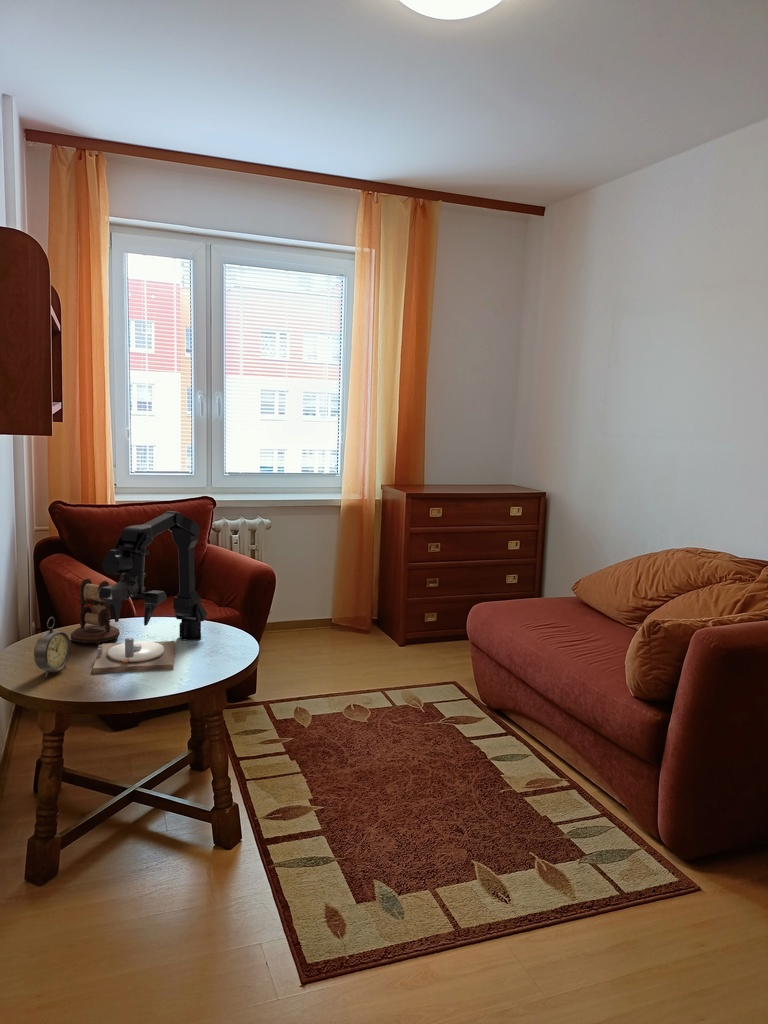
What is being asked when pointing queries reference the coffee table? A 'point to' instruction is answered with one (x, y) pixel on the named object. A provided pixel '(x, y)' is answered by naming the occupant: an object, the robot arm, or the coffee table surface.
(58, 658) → the alarm clock
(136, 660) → the dial
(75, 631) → the wooden thread spool stand
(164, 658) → the stand plate
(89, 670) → the coffee table surface
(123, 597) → the robot arm
